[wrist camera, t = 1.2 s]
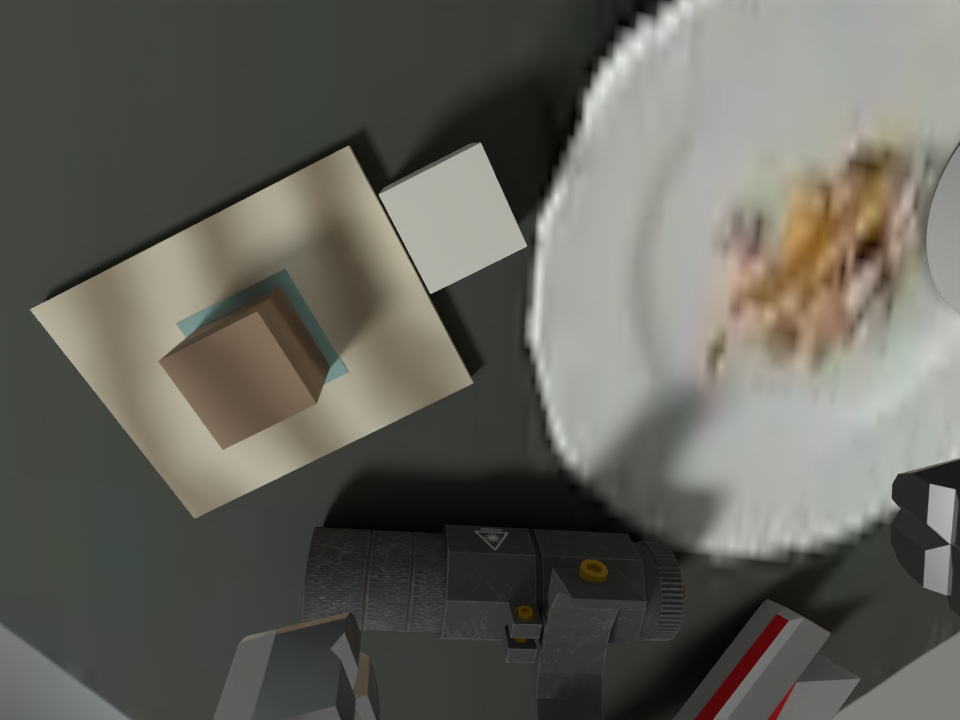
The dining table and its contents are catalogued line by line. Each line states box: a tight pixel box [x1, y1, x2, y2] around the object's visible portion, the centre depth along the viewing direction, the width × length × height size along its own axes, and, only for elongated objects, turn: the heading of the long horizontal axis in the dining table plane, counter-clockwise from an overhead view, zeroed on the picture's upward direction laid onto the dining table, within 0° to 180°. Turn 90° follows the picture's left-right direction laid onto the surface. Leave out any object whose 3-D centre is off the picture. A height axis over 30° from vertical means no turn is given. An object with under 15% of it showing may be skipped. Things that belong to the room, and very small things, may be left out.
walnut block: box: [158, 287, 330, 450], centre depth 30 cm, size 5×5×5 cm
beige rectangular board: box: [30, 146, 473, 518], centre depth 33 cm, size 18×14×1 cm
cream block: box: [379, 143, 527, 294], centre depth 30 cm, size 5×5×5 cm
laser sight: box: [302, 525, 685, 720], centre depth 35 cm, size 10×22×10 cm, turn 82°
